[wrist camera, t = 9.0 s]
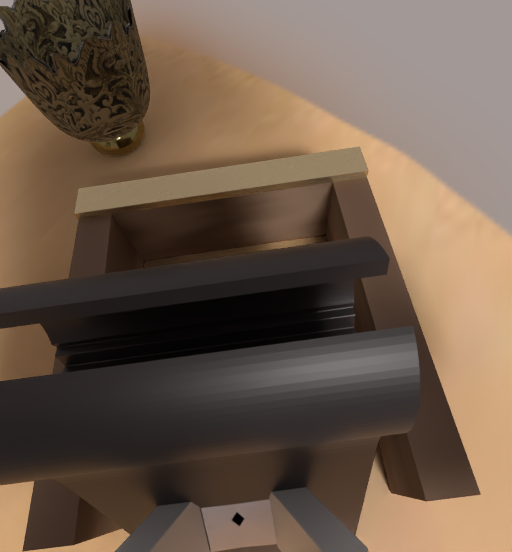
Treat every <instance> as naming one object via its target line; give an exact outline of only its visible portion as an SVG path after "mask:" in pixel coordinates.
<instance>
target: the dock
mask: <svg viewBox="0 0 512 552" xmlns="http://www.w3.org/2000/svg"><path fill="white" fill-rule="evenodd" d="M367 174H368V168H367V165H366V162H365V160H364V157H363V154H362V152H361V149H360V147H354V148H347V149H341V150H334V151H327V152H320V153H314V154H307V155H300V156H293V157H287V158H280V159H273V160H266V161H260V162H253V163H246V164H239V165H233V166H226V167H219V168H213V169H206V170H199V171H192V172H186V173H179V174H172V175H165V176H159V177H152V178H145V179H138V180H132V181H125V182H118V183H111V184H105V185H98V186H91V187H84V188H79V189H78V195H77V200H76V206H75V211H74V214H75V215H76V217H77V218H78V219H79V221H78V227H77V233H76V239H75V245H74V251H73V257H72V263H71V269H70V275H69V279H70V278H77V277H84V276H91V275H98V274H105V273H112V272H119V271H126V270H133V269H140V268H144V261H145V260H152V259H159V258H166V257H173V256H180V255H187V254H194V253H201V252H208V251H215V250H222V249H229V248H236V247H243V246H250V245H257V244H264V243H271V242H278V241H285V240H292V239H299V238H306V237H313V236H320V235H326V239H327V242H330V241H337V240H344V239H351V238H358V237H365V236H368V237H371V238H373V239H375V240H376V241H377V242H378V243H379V244H380V245H381V246H382V247H383V249H384V250H385V252H386V253H387V255H388V256H389V258H390V261H389V266H388V271H387V275H381V276H374V277H367V278H360V279H355V280H354V305H353V309H354V312H355V322H354V329H355V331H356V333H361V332H369V331H376V330H383V329H391V328H398V327H405V326H413V327H414V332H415V338H416V344H417V350H418V358H419V369H420V402H419V410H418V415H417V418H416V421H415V424H414V426H413V428H412V429H411V430H410V431H409V432H407V433H403V434H395V435H387V436H381V438H380V439H379V442H378V444H379V448H380V452H381V455H382V459H383V463H384V467H385V471H386V475H387V479H388V483H389V487H390V491H391V493H393V494H397V495H402V496H406V497H410V498H414V499H419V500H423V501H433V500H441V499H449V498H457V497H465V496H473V495H481V494H480V491H479V488H478V486H477V483H476V480H475V477H474V474H473V472H472V469H471V466H470V463H469V460H468V458H467V455H466V452H465V449H464V447H463V444H462V441H461V438H460V435H459V433H458V430H457V427H456V424H455V422H454V419H453V416H452V413H451V410H450V408H449V405H448V402H447V399H446V396H445V394H444V391H443V388H442V385H441V383H440V380H439V377H438V374H437V371H436V369H435V366H434V363H433V360H432V357H431V355H430V352H429V349H428V346H427V344H426V341H425V338H424V335H423V332H422V330H421V327H420V324H419V321H418V319H417V316H416V313H415V310H414V307H413V305H412V302H411V299H410V296H409V293H408V291H407V288H406V285H405V282H404V280H403V277H402V274H401V271H400V268H399V266H398V263H397V260H396V257H395V255H394V252H393V249H392V246H391V243H390V241H389V238H388V235H387V232H386V229H385V227H384V224H383V221H382V218H381V216H380V213H379V210H378V207H377V204H376V202H375V199H374V196H373V193H372V190H371V188H370V185H369V182H368V179H367ZM64 368H65V366H64V365H63V364H62V363H61V362H60V361H59V360H58V359H57V358H56V357H55V363H54V369H53V374H60V373H62V371H63V370H64ZM119 529H122V528H121V527H120V526H119V525H117V524H116V523H115V522H113V521H112V520H111V519H109V518H108V517H107V516H105V515H104V514H102V513H101V512H100V511H98V510H97V509H96V508H94V507H93V506H92V505H90V504H89V503H88V502H86V501H85V500H84V499H82V498H81V497H80V496H78V495H77V494H76V493H74V492H73V491H72V490H70V489H69V488H67V487H66V486H65V485H63V484H61V483H59V482H57V481H55V480H52V479H45V480H37V481H34V487H33V493H32V499H31V505H30V511H29V517H28V523H27V528H26V534H25V540H24V546H23V551H29V550H37V549H45V548H53V547H61V546H69V545H75V544H78V543H81V542H84V541H87V540H90V539H93V538H96V537H98V536H101V535H104V534H107V533H110V532H113V531H116V530H119Z"/></svg>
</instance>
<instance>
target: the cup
mask: <svg viewBox="0 0 512 552" xmlns="http://www.w3.org/2000/svg"><path fill="white" fill-rule="evenodd" d="M0 19H1V20H2V22H3V24H4V27H5V29H6V31H5V30H2V31H1V32H0V66H1V67H2V68H3V69H4V70H5V72H6V73H7V74H8V75H9V76H10V77H11V79H12V80H13V81H14V82H15V83H16V84H17V85H18V87H19V88H20V89H21V90H22V91H23V92H24V93H25V95H26V96H27V97H28V98H29V99H30V100H31V101H32V103H33V104H34V105H35V106H36V107H37V108H38V109H39V110H40V111H41V112H42V114H43V115H45V116H46V117H47V118H48V119H49V120H50V121H51V122H52V123H53V124H54V125H55V126H56V127H58V128H59V129H60V130H62V131H63V132H65V133H66V134H68V135H70V136H72V137H74V138H77V139H80V140H83V141H88V142H90V143H91V145H92V146H93V147H94V148H95V149H96V150H98V151H99V152H101V153H102V154H105V155H108V156H121V155H125V154H127V153H130V152H132V151H133V150H135V149H136V148H137V147H138V146H139V145H140V144H141V142H142V141H143V138H144V123H143V121H142V119H143V118H144V116H145V114H146V112H147V109H148V105H149V99H150V86H149V78H148V72H147V67H146V63H145V58H144V54H143V50H142V46H141V42H140V37H139V33H138V29H137V25H136V21H135V18H134V13H133V9H132V4H131V1H130V0H14V3H13V5H12V8H10V7H8V6H0ZM4 31H5V32H4Z"/></svg>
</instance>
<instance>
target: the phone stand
mask: <svg viewBox="0 0 512 552" xmlns="http://www.w3.org/2000/svg"><path fill="white" fill-rule="evenodd" d="M389 261H390V258H389V256H388V255H387V253H386V252H385V250H384V249H383V247H382V246H381V245H380V244H379V243H378V242H377V241H376V240H375V239H373V238H371V237H368V236H365V237H358V238H351V239H344V240H337V241H330V242H323V243H316V244H309V245H302V246H295V247H288V248H281V249H274V250H267V251H260V252H253V253H246V254H239V255H232V256H225V257H218V258H211V259H204V260H197V261H190V262H183V263H176V264H169V265H162V266H155V267H148V268H140V269H133V270H126V271H119V272H112V273H105V274H98V275H91V276H84V277H77V278H70V279H63V280H56V281H49V282H42V283H35V284H28V285H21V286H14V287H7V288H0V329H2V328H9V327H16V326H23V325H30V324H37V323H40V324H41V325H42V327H43V328H44V330H45V331H46V333H47V335H48V337H49V339H50V341H51V344H52V345H54V346H56V347H57V351H56V355H55V357H56V358H57V359H58V360H59V361H60V362H61V363H62V364H63V365H64V366H65V368H64V370H63V371H62V373H60V374H52V375H45V376H37V377H30V378H23V379H15V380H8V381H1V382H0V485H6V484H14V483H21V482H29V481H37V480H45V479H52V480H55V481H57V482H59V483H61V484H63V485H65V486H66V487H67V488H69V489H70V490H72V491H73V492H74V493H76V494H77V495H78V496H80V497H81V498H82V499H84V500H85V501H86V502H88V503H89V504H90V505H92V506H93V507H94V508H96V509H97V510H98V511H100V512H101V513H102V514H104V515H105V516H107V517H108V518H109V519H111V520H112V521H113V522H115V523H116V524H117V525H119V526H120V527H121V528H123V529H124V530H125V531H127V532H128V533H129V534H132V533H133V532H134V531H135V530H136V528H137V527H138V526H139V525H140V524H141V523H142V522H143V521H144V520H145V519H146V518H147V517H148V516H149V515H150V513H151V512H152V511H153V510H154V509H155V508H156V507H157V506H161V505H169V504H177V503H185V502H192V503H194V504H195V505H197V506H199V508H205V507H214V506H224V505H233V504H240V503H247V502H254V501H262V500H269V497H270V494H271V492H274V491H281V490H289V489H296V488H304V487H306V488H308V489H309V490H310V491H311V492H312V493H313V494H314V495H315V496H316V497H317V498H318V499H319V500H320V501H321V502H322V503H323V504H324V505H325V506H326V507H327V508H328V509H329V510H330V511H331V512H332V513H333V514H334V515H335V516H336V517H337V518H338V519H339V520H340V521H341V522H342V523H343V524H344V525H345V526H346V527H347V528H348V529H349V530H350V531H351V532H352V533H353V534H354V535H355V534H356V530H357V526H358V522H359V518H360V514H361V510H362V506H363V502H364V498H365V493H366V489H367V485H368V481H369V477H370V473H371V469H372V465H373V461H374V456H375V452H376V448H377V445H378V442H379V439H380V438H381V436H387V435H395V434H403V433H407V432H409V431H410V430H411V429H412V428H413V426H414V424H415V421H416V418H417V415H418V410H419V402H420V369H419V358H418V350H417V344H416V338H415V332H414V327H413V326H405V327H398V328H391V329H383V330H376V331H369V332H361V333H356V331H355V329H354V322H355V312H354V309H353V305H354V280H355V279H360V278H367V277H374V276H381V275H387V271H388V266H389ZM236 513H237V512H236ZM216 552H281V551H280V549H279V548H278V546H277V544H273V545H262V546H251V547H241V548H235V549H228V550H222V551H216Z"/></svg>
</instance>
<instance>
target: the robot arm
mask: <svg viewBox="0 0 512 552" xmlns="http://www.w3.org/2000/svg"><path fill="white" fill-rule="evenodd" d="M236 512H237V513H236ZM273 544H277V546H278V548H279V549H280V551H281V552H368V549H367V547H366V546H365V545H364V544H363V543H362V542H361V541H360V540H359V539H358V538H357V537H356V536H355V535H354V534H353V533H352V532H351V531H350V530H349V529H348V528H347V527H346V526H345V525H344V524H343V523H342V522H341V521H340V520H339V519H338V518H337V517H336V516H335V515H334V514H333V513H332V512H331V511H330V510H329V509H328V508H327V507H326V506H325V505H324V504H323V503H322V502H321V501H320V500H319V499H318V498H317V497H316V496H315V495H314V494H313V493H312V492H311V491H310V490H309V489H308V488H306V487H304V488H296V489H289V490H281V491H274V492H271V494H270V497H269V500H262V501H254V502H247V503H240V504H233V505H224V506H214V507H205V508H199V506H197V505H195V504H194V503H192V502H185V503H177V504H169V505H161V506H157V507H156V508H155V509H154V510H153V511H152V512H151V513H150V515H149V516H148V517H147V518H146V519H145V520H144V521H143V522H142V523H141V524H140V525H139V526H138V527H137V528H136V530H135V531H134V532H133V533H132V534H131V535H130V536H129V537H128V538H127V539H126V540H125V541H124V542H123V543H122V545H121V546H120V547H119V548H118V549H117V550H116V551H115V552H216V551H222V550H228V549H235V548H241V547H251V546H262V545H273Z"/></svg>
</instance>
